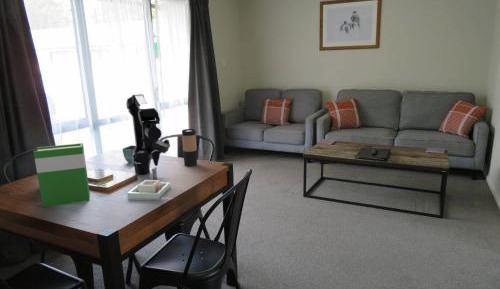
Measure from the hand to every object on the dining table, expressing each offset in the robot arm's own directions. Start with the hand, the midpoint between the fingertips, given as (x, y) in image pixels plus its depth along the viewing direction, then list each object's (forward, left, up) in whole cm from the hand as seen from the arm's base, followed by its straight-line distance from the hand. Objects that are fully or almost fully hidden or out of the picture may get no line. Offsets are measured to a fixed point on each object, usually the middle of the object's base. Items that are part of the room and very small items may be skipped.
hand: (152, 168), depth 163 cm
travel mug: (+5, +40, -10) cm, 41 cm away
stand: (-3, +9, -10) cm, 14 cm away
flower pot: (-30, +42, -10) cm, 52 cm away
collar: (0, -5, -9) cm, 11 cm away
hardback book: (-33, -16, -10) cm, 38 cm away
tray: (0, -5, -10) cm, 11 cm away
